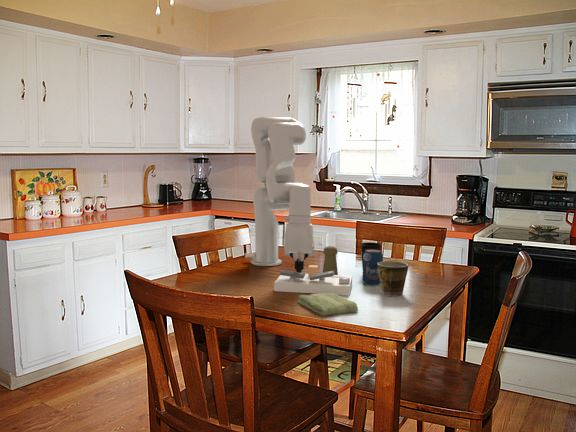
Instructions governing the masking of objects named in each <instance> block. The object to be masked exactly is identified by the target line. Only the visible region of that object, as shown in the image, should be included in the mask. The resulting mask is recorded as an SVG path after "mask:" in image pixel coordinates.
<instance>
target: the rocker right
mask: <svg viewBox="0 0 576 432" xmlns="http://www.w3.org/2000/svg"><path fill="white" fill-rule="evenodd" d="M331 276H334V271H329V272H324V273H322V272H318V274H313V275H311V276H310V280H315V279H320V278H326V277H331Z"/></svg>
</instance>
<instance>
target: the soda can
mask: <svg viewBox="0 0 576 432" xmlns="http://www.w3.org/2000/svg"><path fill="white" fill-rule="evenodd" d="M383 261H384V255H383V253H382V249H381V250H378V249H366V250H365V252H364V254H363V268H362V281H363V283H364V285H366V286H371V287H372V286H373V287H374V286H381V285H380V278H379V273H378V263H379V262H383Z"/></svg>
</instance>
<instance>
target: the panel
mask: <svg viewBox="0 0 576 432" xmlns="http://www.w3.org/2000/svg"><path fill="white" fill-rule="evenodd" d="M310 276H311V275H308V273H305V277H304V278H296V277H290V276H283V275H280V274H279V276H278V278H277V279H276V280H274V283H273V284H274V285H273V286H274V287H273V289H274V292H281V293H282V292H284V293H301V294H303V293H304V294H321V293H324V294H325V293H326V294H327V293H334V294H337V295H338V296H341V295H342V296H350V293H351V291H352V287H353V286H352V285H353V275H339V274H338V275H334V276H331V277H326V278H320V279H315V280H310Z"/></svg>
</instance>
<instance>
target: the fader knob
mask: <svg viewBox="0 0 576 432" xmlns="http://www.w3.org/2000/svg"><path fill="white" fill-rule="evenodd" d="M307 274H308V275H313V274H319V265H313V264H311V265H308V273H307Z"/></svg>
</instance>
